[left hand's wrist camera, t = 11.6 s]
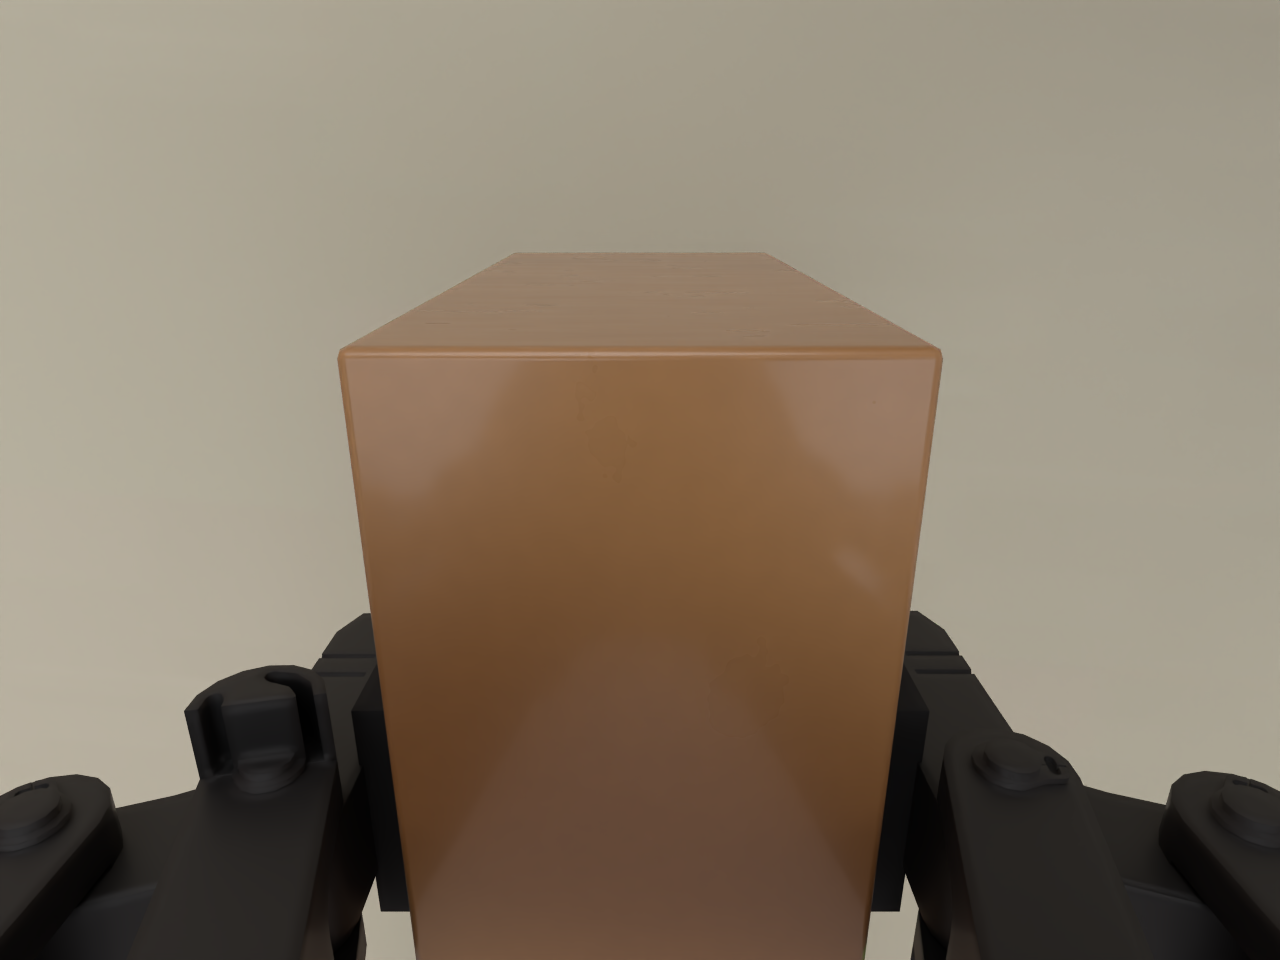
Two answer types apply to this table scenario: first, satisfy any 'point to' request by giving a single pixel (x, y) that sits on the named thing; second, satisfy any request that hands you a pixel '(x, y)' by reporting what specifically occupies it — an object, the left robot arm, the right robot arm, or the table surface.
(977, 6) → the table surface
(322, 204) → the table surface
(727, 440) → the wooden plank
